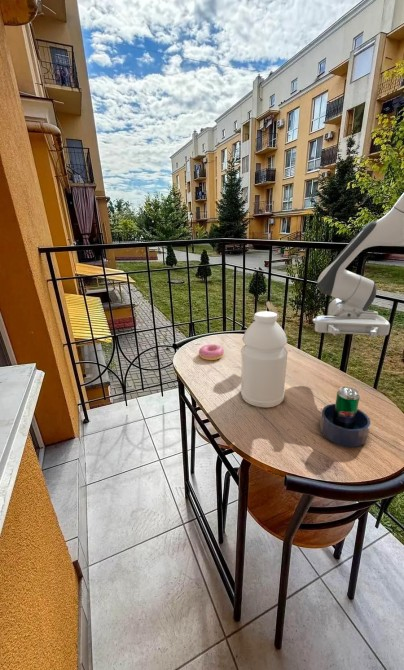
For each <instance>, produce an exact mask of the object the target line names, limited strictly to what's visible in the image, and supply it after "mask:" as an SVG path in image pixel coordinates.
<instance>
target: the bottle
mask: <svg viewBox="0 0 404 670" xmlns="http://www.w3.org/2000/svg"><path fill="white" fill-rule="evenodd" d="M253 320H254V321H253V322H251V324H250V325H249V326H248V327H247V328H246V330H245V332H244V333H243V335H242V338H241V339H242V342H243V344H244V345H243V346H242V348H241V349H240V356H241V357H240V359H241V361H240V363H241V365H240V395H241V398H242V399H243V400H244V401H245V402H246V403H247V404H249V405H251V406H253V407H257V408H273V407H276V406H278V405H280V404H281V403H282V402H283V401H284V399H285V393H286V391H285V390H286V389H285V388H286V387H285V386H286V376H287V375H286V374H287V361H288V355H289V354H288V350H287V348H286V347H285V346H286V345H287V344H288V338H287V335H286V332H285V331H284V329H283V327H282V326H281V325H280V324H279V323H278V322H277V321H278V318H277V314H276V313H274V312H270V311H269V310H260V311H257V312H254V314H253Z"/></svg>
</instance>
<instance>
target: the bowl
mask: <svg viewBox="0 0 404 670" xmlns="http://www.w3.org/2000/svg"><path fill="white" fill-rule="evenodd" d="M335 404H336V403H331V404H327V405H325V406H324V407H323V408H322V409H321V414H320V423H319V430H320V432H321V434H322V436H324V438H326V439H327V440H328V441H330V442H332V443H334V444H336V445H338V446H341V447H345V448H346V447H347V448H358V447H361V446H363V445H364V444H366V443H367V441H368V437H369V432H370V427H371V419H370V418H369V416H368V414H366V413H365V412H364V411H363V410H361V409H359V408H358V409H357V414H356V420H355V425H354V429H347V428H342V427H340V426H337V425H335V424H333V417H334V411H335Z"/></svg>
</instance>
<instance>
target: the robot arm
mask: <svg viewBox="0 0 404 670" xmlns="http://www.w3.org/2000/svg"><path fill="white" fill-rule="evenodd" d="M379 246H380V247H381V246H382V247H401V246H404V192H403V193H402V194H401V195H400V197H399V198H398V199H397V201H396V202H395V203H394V206H392V207H391V209H390V210H389V211H388V212H387V213H386V214H385V215H384V216H382V217H381V218H379V219H378V220H372V221H370V222H368V223H367V224H366V225H365V226H364V227H363V228H361V229H360V230H359V232H358V233H356V235H355V236H354V237H353V238H352V239H351V240H350V241H349V243H348V244H347V245H346V246H345V247H344V248H343V249H342V250H341V252H340V253H339V254H337V256H336V257H335V258H334V259H333V261H331V263H330V264H328V265H327V266H326V267H325V268H324V269H323V271H321V273H320V274H319V276H318V278H317V281H316V286H317V289H318V290H319V292H320V294H323V295H326V296H330V297H333V298H334V299H332V300H331V301H330V302H329V304H328V307H327V315H317V316H316V317H315V318H314V317H313V318H312V323H313V324H314V331H315V332H317V333H323V334H324V333H325V334H326V333H327V334H332V336H334V337H335V336H336V337H337V336H340V334H342V335H343V334H344V335H364V336H365V335H366V336H367V335H368V337H369V338H373V339H375V338H377V336H383V337H384V336H388V335H389V333H390V330H391V329H390V328H391V323H390V322H389V321H388V320H387V319H386V318H385V317H383V316H382V315H379V312H378V311H376V310H371V309H369V308H370V307H371V305H372V304H373V302H374V300H375V299H376V296H377V285H376V282H375V281H374V280H372V279H369V278H368V277H366V276H363V275H361V274H357V273H355V272H352V271H350V270H347V269H346V268H347V267H348V266H349V265H350V264H351V263H352V262H353V261H354V260H355V258H357V256H358V255H359V254H360V253H361V252H363V250H366V249H368V248H372V247H379Z"/></svg>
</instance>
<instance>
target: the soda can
mask: <svg viewBox="0 0 404 670" xmlns="http://www.w3.org/2000/svg"><path fill="white" fill-rule="evenodd" d="M360 398H361V396H360V394H359V391H358V390H357V389H356V388H354V387H351V386H341V387H339V389H338V391H337V392H336V398H335V403H334V404H335V411H334V417H333V424H335V425H337V426H340V427H342V428H347V429H354V425H355V420H356V414H357V409H359V403H360Z"/></svg>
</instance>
